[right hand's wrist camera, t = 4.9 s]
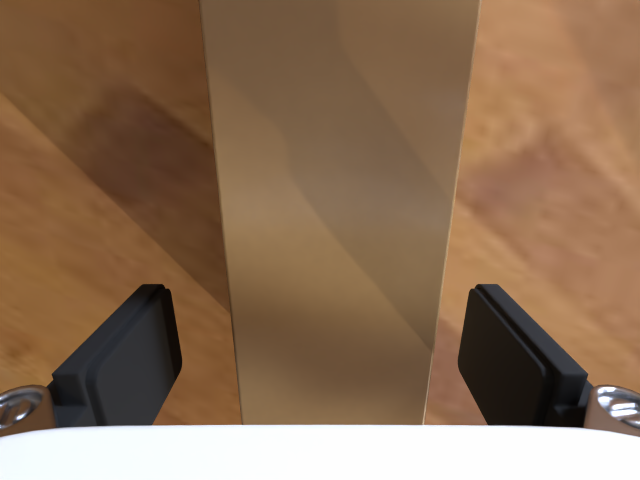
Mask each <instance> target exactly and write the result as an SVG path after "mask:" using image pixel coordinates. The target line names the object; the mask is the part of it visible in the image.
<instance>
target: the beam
mask: <svg viewBox="0 0 640 480" xmlns="http://www.w3.org/2000/svg"><path fill="white" fill-rule="evenodd" d="M481 4H482V0H199V9H200V19H201V29H202V38H203V48H204V58H205V68H206V78H207V87H208V97H209V107H210V117H211V127H212V136H213V146H214V156H215V166H216V176H217V185H218V195H219V205H220V215H221V225H222V234H223V244H224V254H225V264H226V273H227V283H228V293H229V303H230V313H231V322H232V332H233V342H234V352H235V362H236V371H237V381H238V391H239V401H240V411H241V420H242V425H424V422H425V415H426V407H427V400H428V393H429V385H430V378H431V371H432V363H433V356H434V349H435V341H436V334H437V327H438V319H439V312H440V305H441V297H442V290H443V283H444V275H445V268H446V261H447V253H448V246H449V239H450V231H451V224H452V217H453V209H454V202H455V195H456V187H457V180H458V173H459V165H460V158H461V151H462V143H463V136H464V129H465V121H466V114H467V107H468V99H469V92H470V85H471V77H472V70H473V63H474V55H475V48H476V41H477V33H478V26H479V19H480V11H481Z"/></svg>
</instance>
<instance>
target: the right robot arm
mask: <svg viewBox="0 0 640 480" xmlns="http://www.w3.org/2000/svg"><path fill="white" fill-rule="evenodd" d="M181 367H182V356H181V350H180V344H179V338H178V332H177V326H176V320H175V314H174V308H173V302H172V296H171V291H170V290H169V289H165V287H164V285H163V284H143V285H141V286H140V287H139V288H138V289H137V290H136V291H135V292H134V293H133V294H132V295H131V296H130V297H129V298H128V299H127V300H126V301H125V302H124V303H123V304H122V305H121V306H120V307H119V308H118V309H117V310H116V311H115V312H114V313H113V314H112V315H111V316H110V317H109V318H108V319H107V320H106V321H105V322H104V323H103V324H102V325H101V326H100V327H99V328H98V329H97V330H96V331H95V332H94V333H93V334H92V335H91V336H90V337H89V338H88V339H87V340H86V341H85V342H84V343H83V344H82V345H81V346H80V347H79V348H78V349H77V350H76V351H75V352H74V353H73V354H72V355H71V356H70V357H69V358H68V359H67V360H66V361H65V362H64V363H63V364H62V365H61V366H60V367H59V368H58V369H56V370H55V371H54V372H53V373H52V376H53V379H54V380H53V381H52V382H51V383H50V384H49V385H48V386H47V387H44V386H42V385H26V386H20V387H17V388H14V389H10V390H8V391H5V392H3V393H1V394H0V480H640V394H639V393H637V392H635V391H632V390H630V389H626V388H623V387H620V386H614V385H598V386H596V387H593V386H592V385H591V384H590V383H589V382H588V381H587V380H586V379H587V376H588V373H587V372H586V371H585V370H583V369H582V368H581V367H580V366H579V365H578V364H577V363H576V362H575V361H574V360H573V359H572V358H571V357H570V356H569V355H568V354H567V353H566V352H565V351H564V350H563V349H562V348H561V347H560V346H559V345H558V344H557V343H556V342H555V341H554V340H553V339H552V338H551V337H550V336H549V335H548V334H547V333H546V332H545V331H544V330H543V329H542V328H541V327H540V326H539V325H538V324H537V323H536V322H535V321H534V320H533V319H532V318H531V317H530V316H529V315H528V314H527V313H526V312H525V311H524V310H523V309H522V308H521V307H520V306H519V305H518V304H517V303H516V302H515V301H514V300H513V299H512V298H511V297H510V296H509V295H508V294H507V293H506V292H505V291H504V290H503V289H502V288H501V287H500V286H499V285H497V284H477V285H476V287H475V289H471V290H470V291H469V296H468V302H467V308H466V314H465V320H464V326H463V332H462V338H461V344H460V350H459V356H458V367H459V371H460V373H461V375H462V377H463V379H464V381H465V382H466V384H467V386H468V388H469V390H470V392H471V394H472V396H473V398H474V399H475V401H476V403H477V405H478V407H479V409H480V411H481V413H482V415H483V416H484V418H485V420H486V422H487V424H488V425H153V426H152V424H153V422H154V420H155V418H156V416H157V415H158V413H159V411H160V409H161V407H162V405H163V403H164V401H165V399H166V398H167V396H168V394H169V392H170V390H171V388H172V386H173V384H174V382H175V381H176V379H177V377H178V375H179V373H180V371H181Z"/></svg>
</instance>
